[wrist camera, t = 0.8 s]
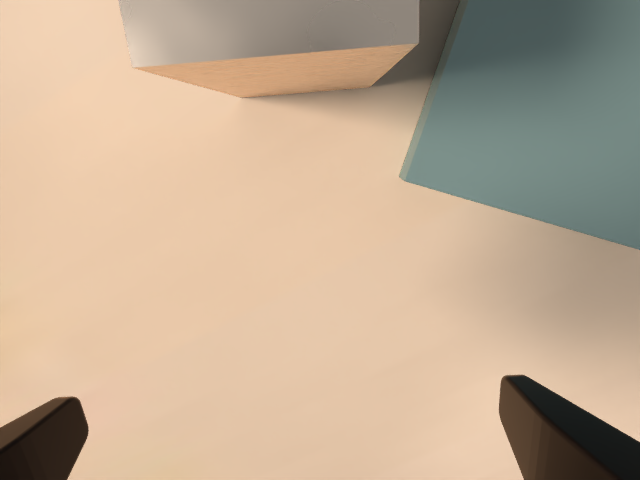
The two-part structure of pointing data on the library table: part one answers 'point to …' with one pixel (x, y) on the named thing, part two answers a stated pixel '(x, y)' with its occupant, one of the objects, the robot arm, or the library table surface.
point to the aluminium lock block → (270, 42)
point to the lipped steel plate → (538, 114)
